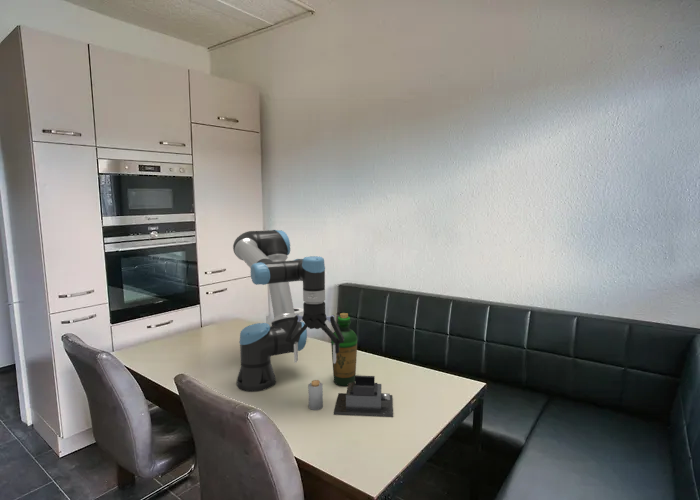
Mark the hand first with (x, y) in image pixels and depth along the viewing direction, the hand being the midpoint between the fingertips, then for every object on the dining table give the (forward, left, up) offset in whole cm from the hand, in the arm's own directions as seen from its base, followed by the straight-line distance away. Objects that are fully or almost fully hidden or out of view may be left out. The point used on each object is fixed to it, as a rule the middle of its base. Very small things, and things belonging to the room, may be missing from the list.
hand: (315, 361), depth 143 cm
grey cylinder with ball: (0, 0, -17) cm, 17 cm away
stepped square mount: (+17, +2, -17) cm, 24 cm away
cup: (-22, +64, -17) cm, 70 cm away
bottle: (+8, +21, -17) cm, 28 cm away
